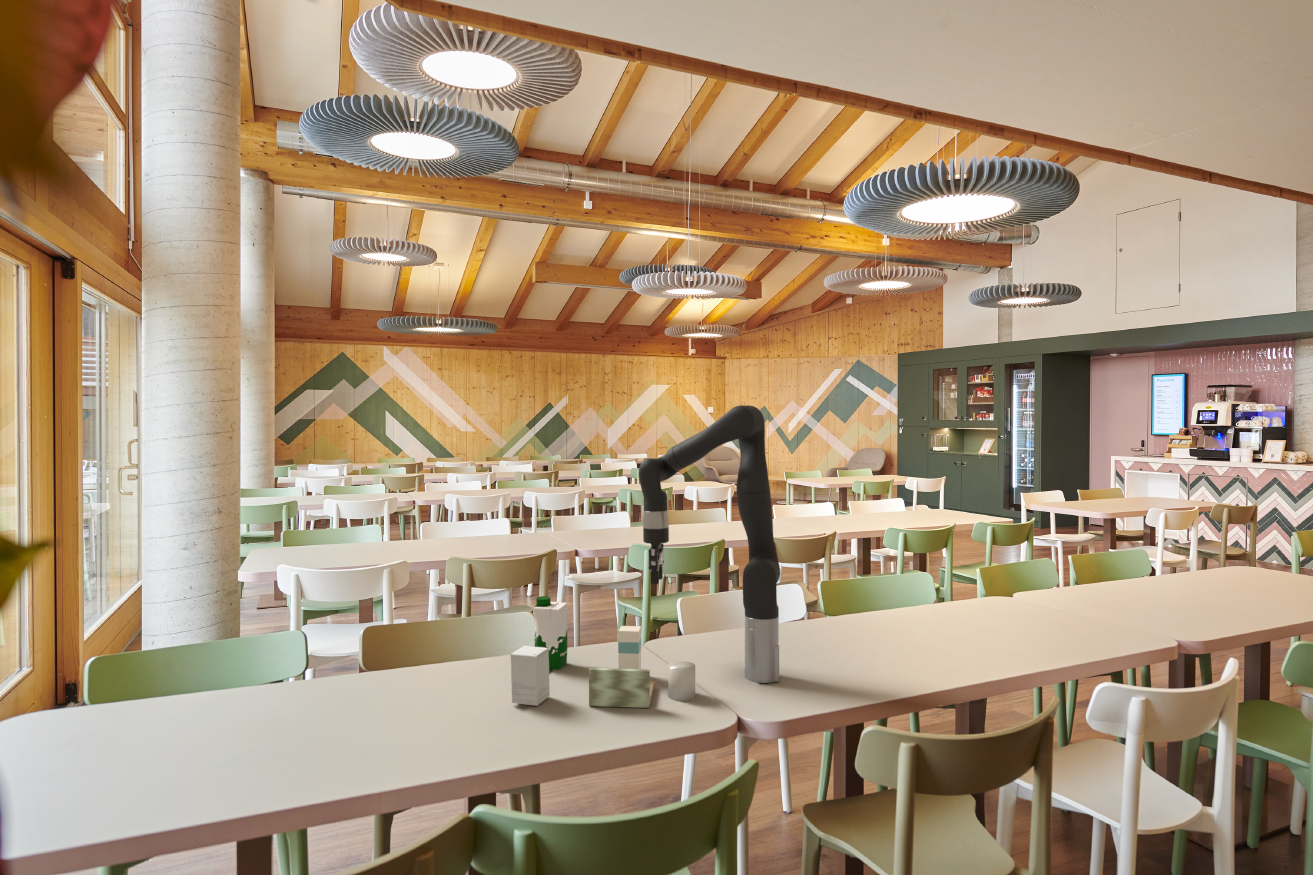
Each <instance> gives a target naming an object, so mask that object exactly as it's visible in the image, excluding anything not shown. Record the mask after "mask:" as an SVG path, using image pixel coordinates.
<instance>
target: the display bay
mask: <svg viewBox="0 0 1313 875" xmlns="http://www.w3.org/2000/svg"><path fill="white" fill-rule="evenodd" d="M650 671H651V670H650V669H647V668H646V669H642V668H641V669H618V668H610V667H608V668H606V667H590V668H589V669H588V706H589V707H610V708H611V707H613V708H616V707H617V708H645V709H649V708H650V707H651V704H652V700H653V696H654V692H655V687H656V686H655V683H656V681H655V680H653V681H652V680H650V679H651V676H650V675H651V672H650Z"/></svg>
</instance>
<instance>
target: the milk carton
mask: <svg viewBox="0 0 1313 875" xmlns="http://www.w3.org/2000/svg"><path fill="white" fill-rule="evenodd" d="M535 603H536V604H535V606H534V607H532V612H533V620H534V622H533V624H534V647H543V648H549V672H553V671H554V670H560V669H561V668H562V667H564V666H566V665H567V663H568V603H567V602H559V601H551V596H548V595H546V596H545V595H544V596H542V595H541V596H537V597H536V602H535Z"/></svg>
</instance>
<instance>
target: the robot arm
mask: <svg viewBox="0 0 1313 875" xmlns="http://www.w3.org/2000/svg"><path fill="white" fill-rule="evenodd" d="M765 432H766V424H765V418H764V415H763V413H762V411H761V410H760V409H759V408H758V407H756V406H754V405H749V404H748V405H746V404H744V405H743V404H742V405H741V404H740V405H736V406H734V407H732V408H731V409H730V410H728V411H727V412H726V413H724V414H723V415H722V416H721V417H720V418H718V419H717V420H716V421H714V422H713V423H712V424H710V425H709V426H707V427H706V428H704V429H702V430H701V431H700V432H698V433H696V434H694V435H692V436H690V437H688V438H687V439H684V440H683V441H681V442H679V443H678V444H675V445H674V446H671V448H669V449H668V450H667V451H666V453H665V454H663V455H662V456H660V457H657V458H655V457H652V458H646V459H644V460H643V461H642V462H640V465H639V467H638V480H639V484H640V487H641V488H640V489H641V492H642V496H643V518H642V530H643V531H642V532H643V534H642V535H643V538H642V540H643V543H645V544H650V548H649V549H648V570H649V572H650V584H651V585H658V584H659V583H660V581H659V580H663V578H664V577H663V566H664V563H665V560H664V559H665V554H664V553H665V550H664V549H665V548H664V544H666V543H669V541H670V526H669V524H670V523H669V521H670V520H669V513H668V494H667V492H666V491H664V490H663V489H662V485H661V482H665V481H667V480H669V479H670V478H672V477H674V476H675V475H676V474H678V473H679V472H680V471H682V470H683V469H686V468H687V467H689V466H691V465H694V463H697V462H698V461H700V460H701V459H703V458H704V457H706V456H707V455H708V454H709V453H711V452H712V451H713V450H714V449H717V448H718V447H720V446H723V445H724V444H727V443H730V442H734V441H736V440H738V446H739V452H740V455H739V456H740V459H739V467H738V473H737V478H736V489H735V490H736V498H737V506H738V512H739V517H740V519H741V523H742V525H743V528H744V531H745V535H746V539H747V544H748V563H747V564H746V565H745V567H744V569H743V572H742V604H743V608H744V678H745V679H746V680H748V681H750V682H753V683H759V684H769V683H774V682H775V683H776V682H780V645H779V639H780V638H779V618H780V617H779V614H780V613H779V612H780V610H779V606H778V601H777V600H778V597H777V585H778V584H777V583H778V582H779V580H780V577H781V567H780V563H779V558H778V555H777V549H776V544H775V539H774V521H773V520H774V518H773V507H772V506H773V505H772V494H771V486H770V482H769V472H768V465H767V458H766V433H765Z"/></svg>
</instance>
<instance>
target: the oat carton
mask: <svg viewBox="0 0 1313 875" xmlns="http://www.w3.org/2000/svg"><path fill="white" fill-rule="evenodd" d="M617 646H618V648H617V653H618V661H617V662H618V664H617V665H618V668H617V669H642V626H638V625H636V626H635V625H620V628H619V629H618V642H617Z"/></svg>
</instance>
